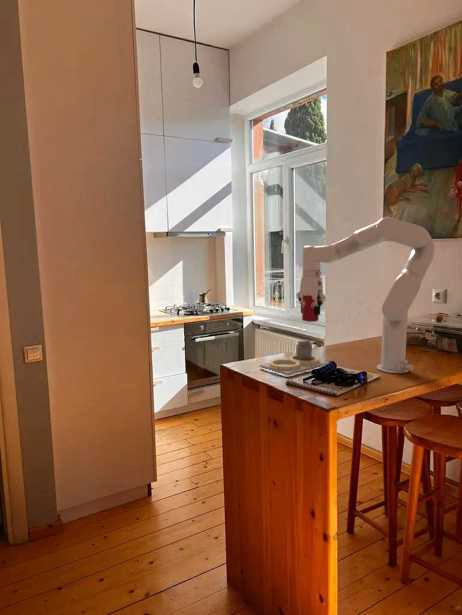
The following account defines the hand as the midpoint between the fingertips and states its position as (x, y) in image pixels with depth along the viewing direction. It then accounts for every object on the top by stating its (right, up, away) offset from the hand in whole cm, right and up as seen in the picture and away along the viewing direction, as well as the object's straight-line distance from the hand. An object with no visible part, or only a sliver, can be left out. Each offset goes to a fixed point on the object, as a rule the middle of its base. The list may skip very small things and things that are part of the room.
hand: (310, 313), depth 203 cm
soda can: (0, -4, 0) cm, 4 cm away
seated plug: (-4, -21, -4) cm, 21 cm away
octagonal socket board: (-8, -23, -8) cm, 26 cm away
